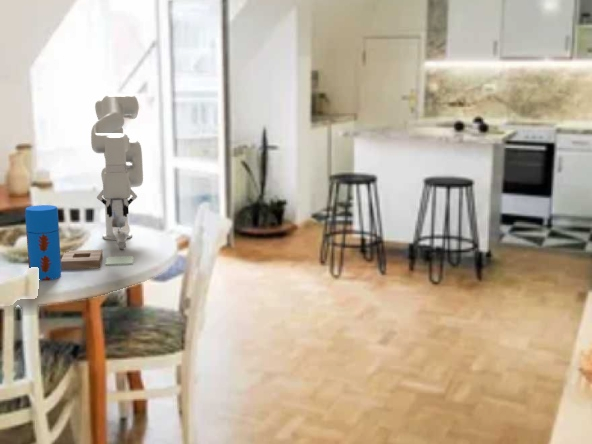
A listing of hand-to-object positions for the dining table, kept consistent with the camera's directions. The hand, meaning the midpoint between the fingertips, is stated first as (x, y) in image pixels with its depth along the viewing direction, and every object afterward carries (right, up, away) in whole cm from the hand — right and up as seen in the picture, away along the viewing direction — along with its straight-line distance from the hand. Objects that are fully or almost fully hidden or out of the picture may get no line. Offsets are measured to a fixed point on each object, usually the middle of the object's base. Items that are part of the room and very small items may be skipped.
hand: (117, 215), depth 278 cm
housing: (-14, -18, +1) cm, 23 cm away
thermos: (-22, -22, -17) cm, 35 cm away
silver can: (0, -4, +1) cm, 4 cm away
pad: (0, -18, +4) cm, 18 cm away
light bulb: (-4, -14, +22) cm, 26 cm away
